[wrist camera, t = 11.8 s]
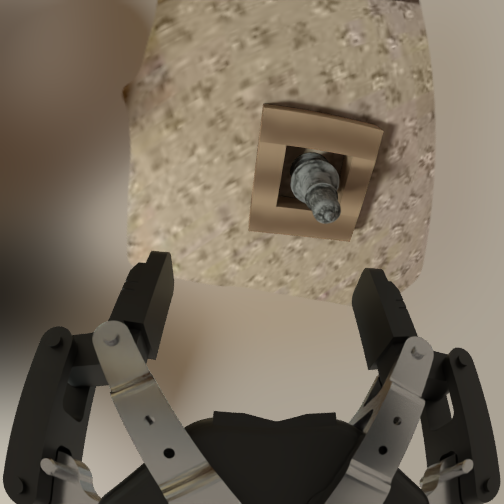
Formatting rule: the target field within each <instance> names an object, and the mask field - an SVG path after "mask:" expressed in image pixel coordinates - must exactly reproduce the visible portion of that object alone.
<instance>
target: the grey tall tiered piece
mask: <svg viewBox="0 0 504 504" xmlns="http://www.w3.org/2000/svg"><path fill="white" fill-rule="evenodd" d="M290 175H291V189H292V192H293V193H294V195H295V197H296V198H297V199H298V200H300V201H302V202H303V203H306V205H307V206H308V207H309V208H310V209H311V210H312V213H313V216H314V218H315V219H316V220H317V221H318V222H320V223H323V224H328V223H332V222H334V221H336V220H337V219H338V218H339V216H340V214H341V206H340V204H339V202H338V193H337V190H338V188H339V175H338V173H337V171H336V169H335V168H334V167H333V166H332V165H331V164H330V163H328V161H327V160H326V159H325V157H323V156H322V155H320V154H317V153H304V154H302V155H300V156H299V157H297V158H296V159H295V160H294V162H293V163H292V166H291V169H290Z"/></svg>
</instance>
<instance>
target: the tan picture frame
mask: <svg viewBox="0 0 504 504" xmlns="http://www.w3.org/2000/svg"><path fill="white" fill-rule="evenodd" d="M383 132H384V131H383V130H382V129H380V128H379V127H377V126H376V125H373V124H370V123H366V122H362V121H358V120H353V119H349V118H345V117H340V116H335V115H331V114H326V113H321V112H315V111H310V110H304V109H298V108H291V107H285V106H277V105H270V104H263V110H262V118H261V126H260V134H259V142H258V150H257V158H256V166H255V174H254V182H253V190H252V198H251V206H250V215H249V230H248V231H254V232H264V233H274V234H284V235H294V236H303V237H312V238H322V239H331V240H339V241H348V242H350V239H351V236H352V234H353V231H354V228H355V225H356V222H357V219H358V216H359V213H360V210H361V207H362V204H363V201H364V198H365V195H366V192H367V188H368V185H369V182H370V178H371V175H372V172H373V168H374V165H375V161H376V158H377V154H378V151H379V147H380V143H381V139H382V136H383ZM286 145H289V146H296V147H302V148H309V149H315V150H321V151H327V152H332V153H338V154H343V155H345V156H344V160H343V164H342V168H341V172H340V176H339V188H338V190H337V193H338V202H339V204H340V206H341V214H340V216H339V218H338V219H337V220H336V221H334V222H332V223H328V224H323V223H320V222H318V221H317V220H316V219H315V218H314V216H313V213H312V210H311V209H310V208H309V207H308V206H307V205H306V203H303V202H302V201H300V200H298V199H297V198H291V197H282V196H278V192H279V187H280V181H281V175H282V169H283V163H284V157H285V151H286Z"/></svg>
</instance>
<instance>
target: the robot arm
mask: <svg viewBox="0 0 504 504" xmlns="http://www.w3.org/2000/svg"><path fill="white" fill-rule="evenodd" d="M173 290H174V276H173V269H172V260H171V254H170V253H169V252H159V251H151V253H150V255H149V257H148V259H147V262H146V263H138V264H137V265H136V266H134V267H133V268H132V269H131V270H130V272H129V274H128V276H127V279H126V282H125V283H124V285H123V288H122V290H121V292H120V295H119V297H118V299H117V302H116V304H115V306H114V309H113V311H112V314H111V316H110V318H109V320H108V322H105V323H103V324H101V325H100V326H99V327H97V329H96V330H95V332H93V333H88V334H79V335H71V333H70V331H69V330H68V329H66V328H64V327H53V328H51V329H49V330H48V331H47V332H46V333H45V334H44V335H43V337H42V338H41V341H40V343H39V346H38V348H37V351H36V353H35V356H34V359H33V361H32V364H31V367H30V370H29V372H28V375H27V378H26V381H25V384H24V387H23V391H22V394H21V397H20V401H19V404H18V407H17V411H16V415H15V419H14V423H13V427H12V431H11V435H10V440H9V445H8V450H7V455H6V461H5V467H4V474H3V483H4V488H5V490H6V492H7V494H8V496H9V497H10V498H11V499H12V500H13V501H14V502H15V503H16V504H483V503H486V502H489V501H491V500H492V499H493V498H494V497H495V496H496V494H497V493H498V490H499V487H500V472H499V465H498V458H497V452H496V446H495V440H494V435H493V430H492V426H491V421H490V417H489V413H488V409H487V405H486V401H485V398H484V394H483V391H482V387H481V384H480V381H479V378H478V374H477V372H476V368H475V365H474V362H473V360H472V358H471V356H470V354H469V353H468V352H467V351H465V350H464V349H462V348H454V349H453V350H452V351H451V352H450V353H449V354H443V353H439V352H435V351H433V350H432V347H431V345H430V344H429V343H428V342H427V341H426V340H424V339H423V338H420V337H418V336H417V333H416V330H415V328H414V325H413V323H412V320H411V318H410V315H409V313H408V310H407V309H406V305H405V303H404V302H403V298H402V296H401V294H400V291H399V290H398V288H397V287H396V286H395V285H394V284H393V283H392V282H391V281H388V280H387V278H386V275H385V273H384V271H383V270H382V269H374V268H365V269H364V270H363V272H362V274H361V277H360V279H359V281H358V284H357V286H356V288H355V290H354V293H353V296H352V307H353V311H354V314H355V318H356V322H357V325H358V329H359V333H360V337H361V341H362V345H363V349H364V354H365V358H366V361H367V366H368V370H374V369H378V372H379V375H378V376H377V377H376V379H375V381H374V383H373V384H372V386H371V388H370V390H369V392H368V394H367V396H366V398H365V400H364V402H363V403H362V405H361V407H360V408H359V410H358V412H357V413H356V414H355V415H354V417H353V418H352V419H351V421H350V422H349V423H346V422H344V421H341V420H336V413H335V412H334V413H317V414H305V415H301V416H298V417H294V418H290V419H286V420H282V421H272V420H268V419H263V418H260V417H256V416H252V415H249V414H245V413H231V412H218V411H214V414H213V418H207V419H203V420H200V421H197V422H194V423H192V424H190V425H188V426H186V427H185V428H184V427H183V426H182V424H181V422H180V421H179V419H178V418H177V416H176V415H175V413H174V411H173V410H172V408H171V406H170V405H169V403H168V401H167V400H166V398H165V396H164V395H163V393H162V391H161V389H160V388H159V386H158V384H157V382H156V381H155V379H154V377H153V375H152V374H151V373H150V371H149V370H148V367H147V366H146V363H147V359H154V360H156V357H157V353H158V349H159V344H160V341H161V337H162V333H163V329H164V325H165V321H166V318H167V314H168V310H169V306H170V303H171V299H172V296H173ZM104 385H109V387H110V389H111V392H110V395H111V398H112V400H113V402H114V405H115V407H116V409H117V411H118V413H119V415H120V417H121V420H122V422H123V424H124V426H125V428H126V430H127V432H128V434H129V436H130V437H131V439H132V441H133V443H134V445H135V447H136V449H137V451H138V452H139V454H140V456H141V457H142V459H143V461H144V463H143V464H142V465H141V466H140V467H139V468H137V469H136V470H135V471H134V472H133V473H132V474H130V475H129V476H128V477H127V478H125V479H124V480H123V481H122V482H120V483H119V484H118V485H117V486H116V487H114V488H113V489H112V490H110V491H109V492H108V493H107V494H105V495H104V496H103V497H102V498H100V497H99V496H98V494H97V493H96V491H95V490H94V487H93V483H92V474H91V472H90V470H89V468H88V467H87V466H86V465H85V464H84V463H83V462H82V455H83V449H84V443H85V437H86V431H87V426H88V421H89V415H90V411H91V406H92V402H93V397H94V393H95V388H96V386H104ZM449 392H450V396H451V400H452V405H453V409H454V416H453V418H451V413H450V409H449V405H448V400H447V396H446V395H447V394H448V393H449ZM419 419H421V424H422V430H423V437H424V444H425V451H426V459H427V470H426V471H425V473H424V476H423V477H422V478H421V480H420V487H421V489H420V488H419V487H418V486H417V485H416V484H415V483H414V482H413V481H411V479H409V478H408V477H407V476H406V475H405V474H404V473H403V472H402V471H401V470H400V469H399V468H398V466H399V464H400V462H401V460H402V458H403V456H404V454H405V452H406V450H407V448H408V445H409V443H410V441H411V439H412V436H413V434H414V431H415V429H416V427H417V424H418V421H419Z"/></svg>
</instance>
